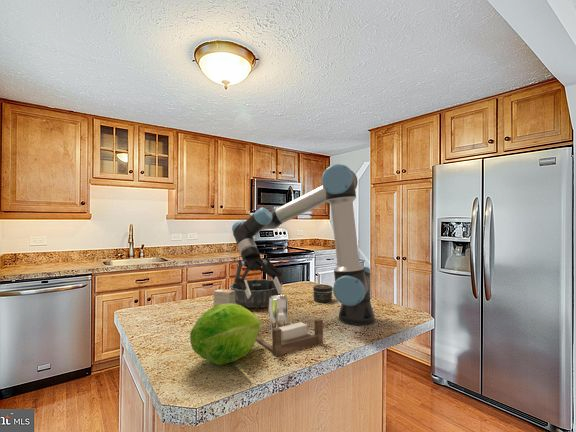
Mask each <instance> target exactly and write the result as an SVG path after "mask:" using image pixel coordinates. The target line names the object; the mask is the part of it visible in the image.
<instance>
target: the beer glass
mask: <svg viewBox="0 0 576 432" xmlns="http://www.w3.org/2000/svg"><path fill="white" fill-rule="evenodd" d="M288 309H289V305H288V296H286V295H282V294H280V295H273V296H270V297H269V306H268V318H269V324H270V334H269V336H270V337H271V338H272V339H273V329H274V328H279V327H283V326H286V324H287V319H288V313H289V310H288Z"/></svg>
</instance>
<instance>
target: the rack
mask: <svg viewBox="0 0 576 432" xmlns="http://www.w3.org/2000/svg"><path fill="white" fill-rule="evenodd" d="M291 324H292V323H289V322H288V323H287V322H286V326H287V325H291ZM256 342H257V343H258V344H260V345H261V346H262V347H264V348H265V349H267V350H268V351H269V352H270V353H272V355H274V356H275V357H277V356H282V355H284V354H287V353H291V352H296V351H298V350H302V349H305V348H308V347H309V348H310V347H312V346H317V345H321V344H323V343H324V320H323V319H322V318H316V319H314V334H310V336H307V337H303V338H299V339H295V340H291V341H287V342H283V343H281V329H280V328H274V329H273V338H272V345H271V344H270V343H268V342H267V341H266V340H264V339H263V338H262V337H260V336H259V335H257V339H256Z"/></svg>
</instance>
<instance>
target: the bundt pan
mask: <svg viewBox="0 0 576 432" xmlns="http://www.w3.org/2000/svg"><path fill="white" fill-rule="evenodd" d="M246 280H247V283H248V286H249V289H250V292H251V296H250V298H249V299H247V296H246V293H245V290H242V287H241V285H239V283H235V282H233V283H231V285H229V287H230V290H235V304H238V305H241V306H243V307H244V308H246V309H248V308H249V309H253V308H256V309H259V308H266V307H269V297H270V296H273V295H281V293H280V294H278V291H277V289H276V286H275V284H274V282H273V280H274V279H262V278H261V279H246ZM282 286H283V283H282V282H281V287H282Z"/></svg>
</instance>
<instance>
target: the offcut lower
mask: <svg viewBox="0 0 576 432" xmlns="http://www.w3.org/2000/svg"><path fill="white" fill-rule="evenodd" d="M310 335H311V333H310V332H308V331H307V334H305V335H301V336H297V337H294V338H290V339H286V340H282V339H281V343H283V342H287V341H291V340H295V339H299V338H303V337H307V336H310Z"/></svg>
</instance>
